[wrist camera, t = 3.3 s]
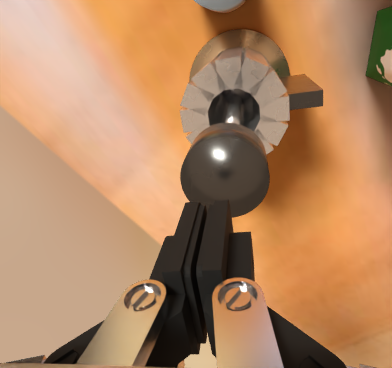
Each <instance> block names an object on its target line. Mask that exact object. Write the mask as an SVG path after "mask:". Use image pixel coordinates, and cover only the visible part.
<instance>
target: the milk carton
mask: <svg viewBox="0 0 392 368" xmlns="http://www.w3.org/2000/svg"><path fill="white" fill-rule="evenodd" d="M366 76H368V77H370V78H372V79H375V80H377V81H379V82H382V83H384V84H386V85H389V86H391V87H392V6H391V7H388V8H385V9H382V10H379V11H377V16H376V21H375V27H374V32H373V38H372V43H371V49H370V54H369V60H368V65H367V71H366Z"/></svg>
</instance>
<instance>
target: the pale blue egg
mask: <svg viewBox="0 0 392 368" xmlns="http://www.w3.org/2000/svg"><path fill="white" fill-rule="evenodd" d="M194 1H195V2H196V3H198V4H199V5H201V6H203V7H205V8H207V9H210V10H212V11H214V12H218V13H228V12H231V11H234V10H236V9H237V8H239V7H240V6H241V5H242V4H243V3H244V2H245V1H246V0H194Z"/></svg>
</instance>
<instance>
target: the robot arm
mask: <svg viewBox="0 0 392 368" xmlns="http://www.w3.org/2000/svg"><path fill="white" fill-rule="evenodd" d="M207 332H208V337H209V342H210V344H211V350H212V354H213V355H214V356H215V357H216V359H217V368H355V367H351V366H346V365H345V364H344V363H343V362H342V361H341V360H340V359H339V358H338V357H337V356H336V355H335V354H333V353H332V352H330V351H329V350H328V349H326V348H325V347H323V346H322V345H321V344H319V343H318V342H316V341H315V340H314V339H312V338H311V337H309V336H308V335H307V334H305V333H304V332H302V331H301V330H300V329H298V328H297V327H296V326H294V325H293V324H291V323H290V322H289V321H287V320H286V319H284V318H283V317H282V316H280V315H279V314H277V313H276V312H275V311H273V310H272V309H270V308H269V307H268V306H267V305H266V301H265V298H264V294H263V291H262V289H261V287H260V286H259V285H258V284H257V283H256V282H255V280H254V260H253V248H252V238H251V232H238V233H233V226H232V218H231V210H230V203H229V200H215V201H214V204H211V205H209V208H208V213H207V208H206V205H201V203H200V202H187V203H185V206H184V209H183V211H182V214H181V217H180V220H179V223H178V226H177V229H176V232H175V235H174V236H167V237H166V238H165V240H164V242H163V245H162V248H161V250H160V253H159V256H158V258H157V261H156V263H155V266H154V269H153V271H152V274H151V276H150V279H149V280H143V281H139V282H136V283H134V284H132V285H131V286H130V287H128V288H127V289H126V290H125V291H124V292H123V293H122V294H121V296H120V297H119V299H118V300H117V302H116V303H115V305H114V307H113V308H112V310H111V311H110V313H109V314H108V316H107V317H106V319H105V320H104V321H102V322H101V323H99V324H97V325H96V326H94V327H92V328H91V329H89V330H88V331H86V332H84V333H83V334H81V335H80V336H78V337H77V338H75V339H73V340H71V341H70V342H68V343H67V344H65V345H63V346H62V347H60V348H59V349H57V350H56V351H55V352H53V353H52V354H51V355H50V356H49V357H48V358H47V359H46V357H45V355H41V356H36V357H31V358H26V359H21V360H16V361H11V362H6V363H0V368H184V366H185V363H184V359H185V358H186V357H188V356H189V355H190V354H199V350H200V344H201V343H206V339H207ZM359 368H375V367H371V366H367V365H362V364H359Z"/></svg>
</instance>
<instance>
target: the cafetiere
mask: <svg viewBox="0 0 392 368" xmlns="http://www.w3.org/2000/svg"><path fill="white" fill-rule="evenodd" d="M234 95H238V96H240V97H241V99H242V106H241V120H240V125H243V126H245V127H247V128H249V129H250V130H252V131H253V132H254V133H255V134H256V135H257V136H258V137H259V138H260V140H261V141H262V143H263V145H264V147H265V151H266V155H267V154H268V153H270V152H271V151H273V150H274V148H273V144H274V145H276V146H278V144H279V142H280V140H281V138H282V137H283V135H284V133H285V131H286V129H287V127H288V123H287V121H289V120H290V112H289V110H294V109H302V108H311V107H319V106H323V89H322V88H320V87H319V86H318V85H317V84H316V83H314V82H313V81H312V80H311V79H310V78H308V77H307V76H306V75H305V74H302V75H295V76H290V73H289V67H288V63H287V61H286V58H285V56H284V54H283V52H282V51H281V49H280V48H279V47H278V45H277V44H276V43H275V42H273V41H272V40H271V39H270V38H268V37H267V36H265V35H263V34H261V33H259V32H256V31H253V30H247V29H237V30H231V31H227V32H224V33H222V34H219V35H218V36H216V37H214V38H213V39H211V40H210V41H209V42H207V44H206V45H205V46H204V47H203V48H202V49H201V50H200V52H199V53H198V55H197V56H196V58H195V60H194V62H193V65H192V68H191V72H190V80H189V83H188V85H187V88H186V90H185V93H184V96H183V99H182V102H181V105H180V106H183V107H182V108H181V110H180V114H181V120H182V125H183V131H184V132H188V134H187V136H186V138H187V139H188V140H189V141H190V143H191V144H192V143H193V141H194V140H195V138H196V137H197V136H198V135H199V133H201V132H202V131H203V130H204V129H206V128H208V127H210V126H212V125H215V124H218V123H225V120H226V116H227V111H228V107H229V103H230V99H231V97H232V96H234Z"/></svg>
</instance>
